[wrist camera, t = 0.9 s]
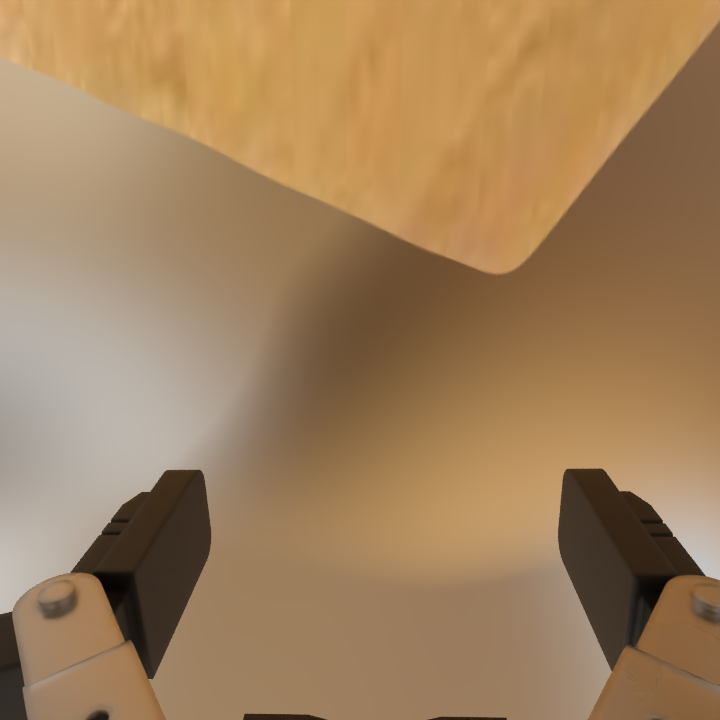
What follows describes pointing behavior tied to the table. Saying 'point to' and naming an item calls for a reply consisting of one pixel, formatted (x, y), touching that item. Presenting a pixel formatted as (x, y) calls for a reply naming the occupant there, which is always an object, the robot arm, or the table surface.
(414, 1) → the table surface
